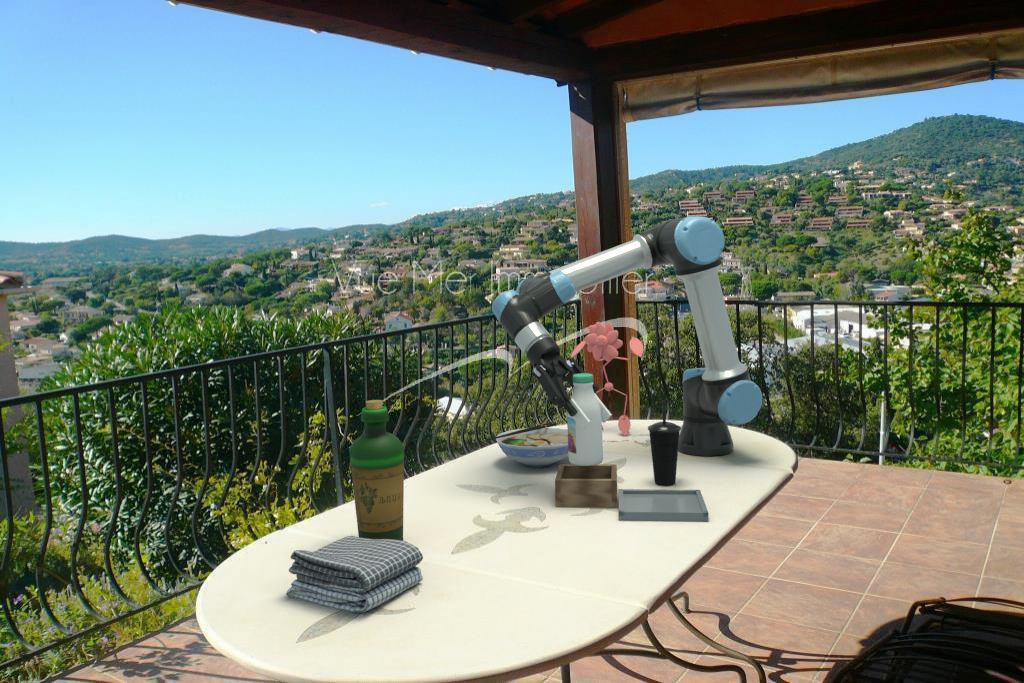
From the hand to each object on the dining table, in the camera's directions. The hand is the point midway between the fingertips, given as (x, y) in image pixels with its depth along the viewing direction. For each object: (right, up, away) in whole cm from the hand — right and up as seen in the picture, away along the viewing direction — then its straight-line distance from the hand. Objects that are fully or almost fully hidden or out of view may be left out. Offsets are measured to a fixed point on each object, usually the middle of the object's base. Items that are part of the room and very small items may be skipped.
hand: (597, 422), depth 172 cm
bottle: (-44, -22, -20) cm, 53 cm away
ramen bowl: (-12, -15, +36) cm, 40 cm away
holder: (-2, -18, +4) cm, 18 cm away
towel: (-45, -24, -41) cm, 66 cm away
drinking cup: (+18, -16, +14) cm, 28 cm away
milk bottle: (-2, -10, +3) cm, 10 cm away
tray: (+13, -18, -5) cm, 23 cm away
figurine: (+9, -11, +66) cm, 68 cm away
